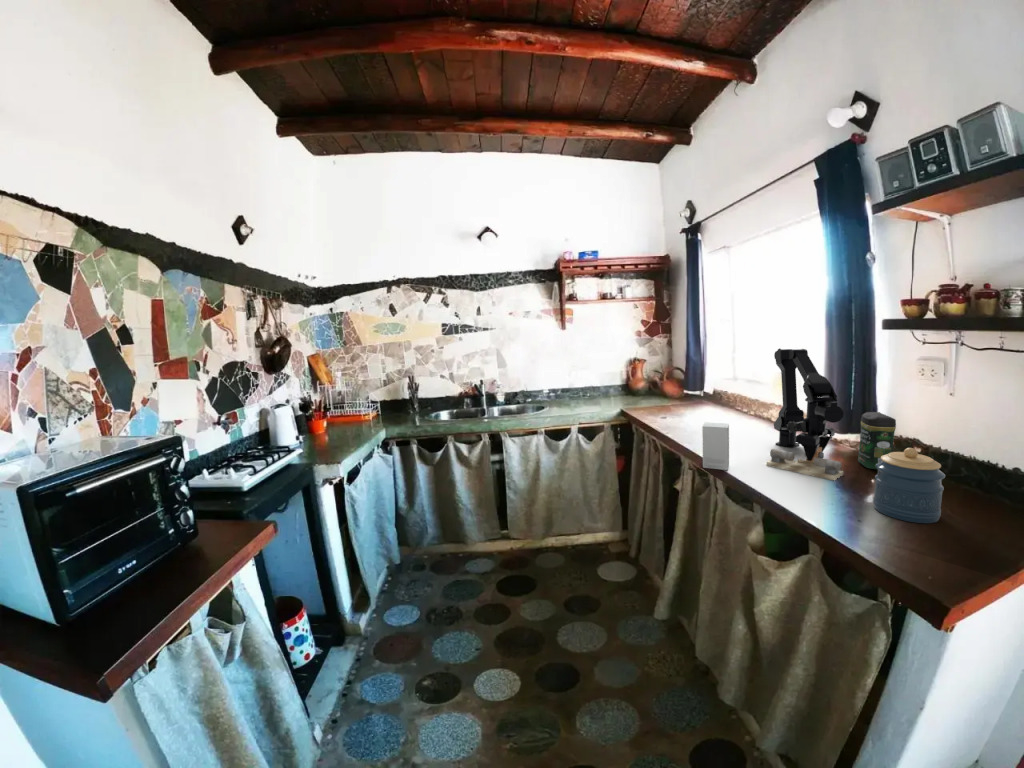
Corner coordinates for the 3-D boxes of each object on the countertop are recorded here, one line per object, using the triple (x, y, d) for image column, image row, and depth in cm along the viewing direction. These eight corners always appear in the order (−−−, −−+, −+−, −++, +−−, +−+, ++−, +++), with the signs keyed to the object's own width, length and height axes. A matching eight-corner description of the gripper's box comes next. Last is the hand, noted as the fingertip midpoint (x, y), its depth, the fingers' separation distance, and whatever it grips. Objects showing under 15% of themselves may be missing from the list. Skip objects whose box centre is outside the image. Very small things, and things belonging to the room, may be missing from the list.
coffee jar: (853, 460, 147) (857, 410, 145) (881, 462, 145) (885, 410, 142) (866, 470, 138) (871, 416, 135) (896, 472, 136) (901, 416, 133)
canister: (880, 519, 106) (886, 453, 104) (866, 499, 117) (871, 439, 115) (950, 528, 100) (958, 458, 98) (928, 506, 111) (934, 443, 109)
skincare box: (729, 465, 149) (730, 423, 146) (727, 471, 143) (729, 427, 141) (703, 462, 153) (704, 421, 151) (701, 467, 148) (702, 425, 145)
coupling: (803, 460, 150) (803, 447, 149) (808, 458, 152) (809, 445, 152) (819, 464, 146) (820, 450, 145) (824, 461, 148) (825, 447, 148)
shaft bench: (766, 465, 147) (767, 451, 146) (776, 460, 152) (777, 446, 151) (834, 480, 131) (835, 465, 130) (843, 474, 136) (844, 459, 135)
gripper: (801, 408, 158) (799, 447, 161) (779, 416, 148) (777, 458, 150) (836, 412, 149) (833, 454, 152) (816, 421, 139) (813, 466, 141)
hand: (813, 458), depth 149 cm, fingers open, 8 cm apart
